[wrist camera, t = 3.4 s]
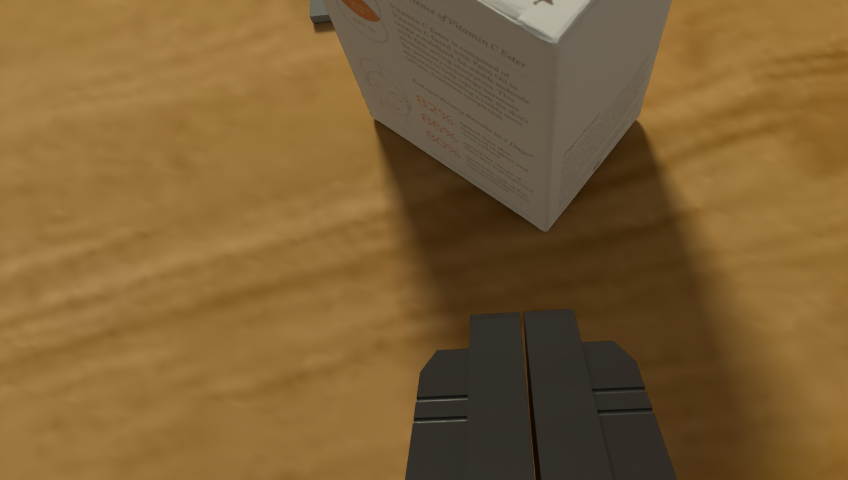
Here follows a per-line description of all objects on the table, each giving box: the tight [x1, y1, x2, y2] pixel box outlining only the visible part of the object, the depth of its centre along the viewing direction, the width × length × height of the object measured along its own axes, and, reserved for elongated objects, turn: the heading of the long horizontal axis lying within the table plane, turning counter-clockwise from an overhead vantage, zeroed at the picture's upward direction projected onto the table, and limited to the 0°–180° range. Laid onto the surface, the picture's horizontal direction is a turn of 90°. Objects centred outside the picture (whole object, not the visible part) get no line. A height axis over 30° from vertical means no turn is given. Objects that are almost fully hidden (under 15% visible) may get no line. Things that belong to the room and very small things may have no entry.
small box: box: [323, 0, 671, 232], centre depth 20 cm, size 8×6×10 cm
